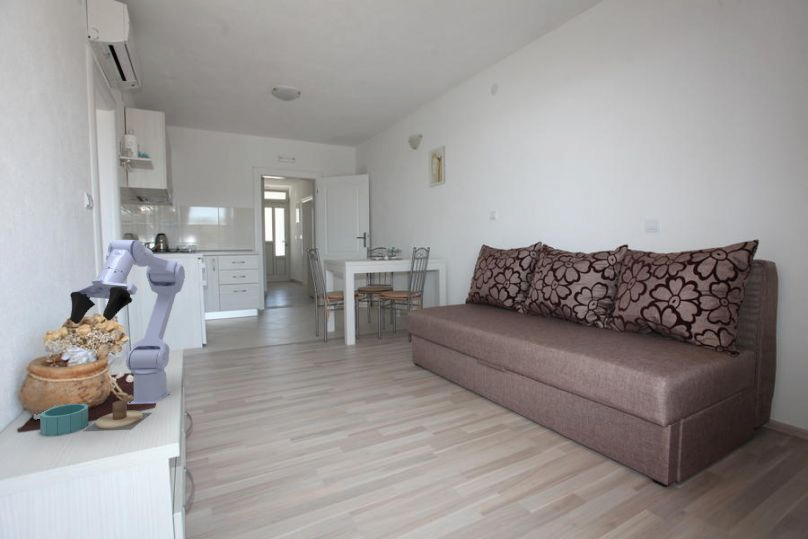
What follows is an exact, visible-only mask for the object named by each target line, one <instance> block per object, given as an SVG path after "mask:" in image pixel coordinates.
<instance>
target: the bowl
mask: <svg viewBox="0 0 808 539" xmlns="http://www.w3.org/2000/svg"><path fill="white" fill-rule="evenodd" d="M39 421H40V422H39V423H40V426H39V427H40V428H39V429H40V430H39V431H40V435H41V436H44V437H45V436H46V437H57V436H58V437H59V436H63V435H68V434H72V433H75V432H78V431H80V430H84V428H85V429H86V427H87V426H88V424H89V405H88V404H86V403H82V404H68V405H62V406H57V407H54V408H50V409H48V410H46V411H44V412H42V413H41V415H40V420H39Z"/></svg>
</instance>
